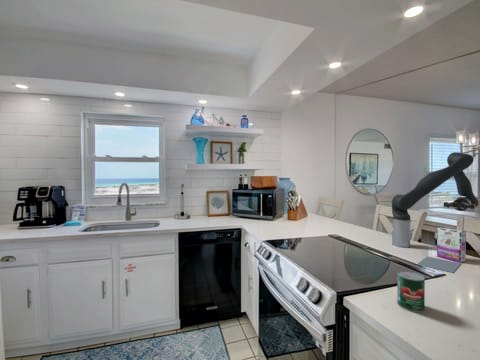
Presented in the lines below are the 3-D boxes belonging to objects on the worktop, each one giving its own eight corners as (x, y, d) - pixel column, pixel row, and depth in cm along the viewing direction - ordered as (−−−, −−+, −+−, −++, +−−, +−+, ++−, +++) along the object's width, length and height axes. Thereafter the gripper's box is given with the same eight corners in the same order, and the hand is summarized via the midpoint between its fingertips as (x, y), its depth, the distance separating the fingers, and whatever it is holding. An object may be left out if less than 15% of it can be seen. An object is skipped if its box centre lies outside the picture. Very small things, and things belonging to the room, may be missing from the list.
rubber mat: (417, 264, 123) (417, 263, 123) (427, 256, 134) (427, 256, 134) (453, 273, 112) (453, 272, 112) (460, 264, 123) (460, 263, 123)
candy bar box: (466, 261, 126) (466, 231, 126) (460, 263, 124) (460, 231, 124) (442, 255, 137) (442, 226, 136) (436, 256, 135) (436, 227, 134)
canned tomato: (412, 300, 88) (413, 270, 87) (430, 312, 80) (431, 279, 79) (391, 300, 87) (392, 270, 87) (407, 312, 79) (408, 280, 79)
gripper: (446, 197, 153) (440, 199, 143) (478, 199, 142) (473, 200, 131) (446, 209, 153) (440, 211, 143) (478, 211, 142) (473, 214, 132)
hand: (456, 206), depth 137 cm, fingers open, 7 cm apart
